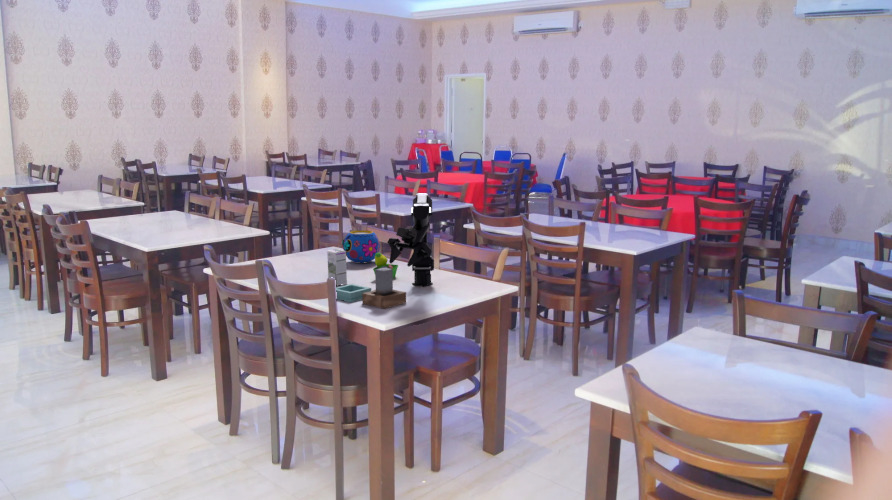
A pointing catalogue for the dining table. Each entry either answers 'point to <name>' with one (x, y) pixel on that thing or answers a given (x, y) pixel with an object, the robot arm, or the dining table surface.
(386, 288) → the square axle
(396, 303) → the bore block
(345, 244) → the ceramic pot
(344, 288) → the cradle
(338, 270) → the syrup box
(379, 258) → the fruit basket
